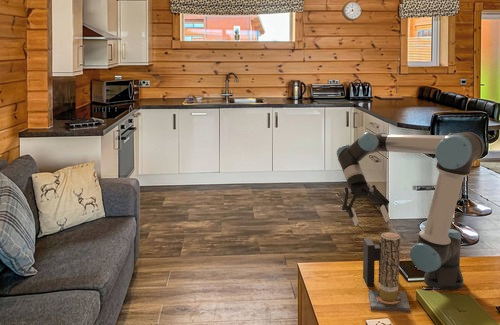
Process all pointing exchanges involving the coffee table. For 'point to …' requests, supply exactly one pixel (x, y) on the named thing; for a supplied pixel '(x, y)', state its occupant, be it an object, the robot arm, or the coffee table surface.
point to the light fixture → (370, 260)
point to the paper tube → (389, 266)
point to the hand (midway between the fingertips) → (372, 222)
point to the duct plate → (388, 302)
